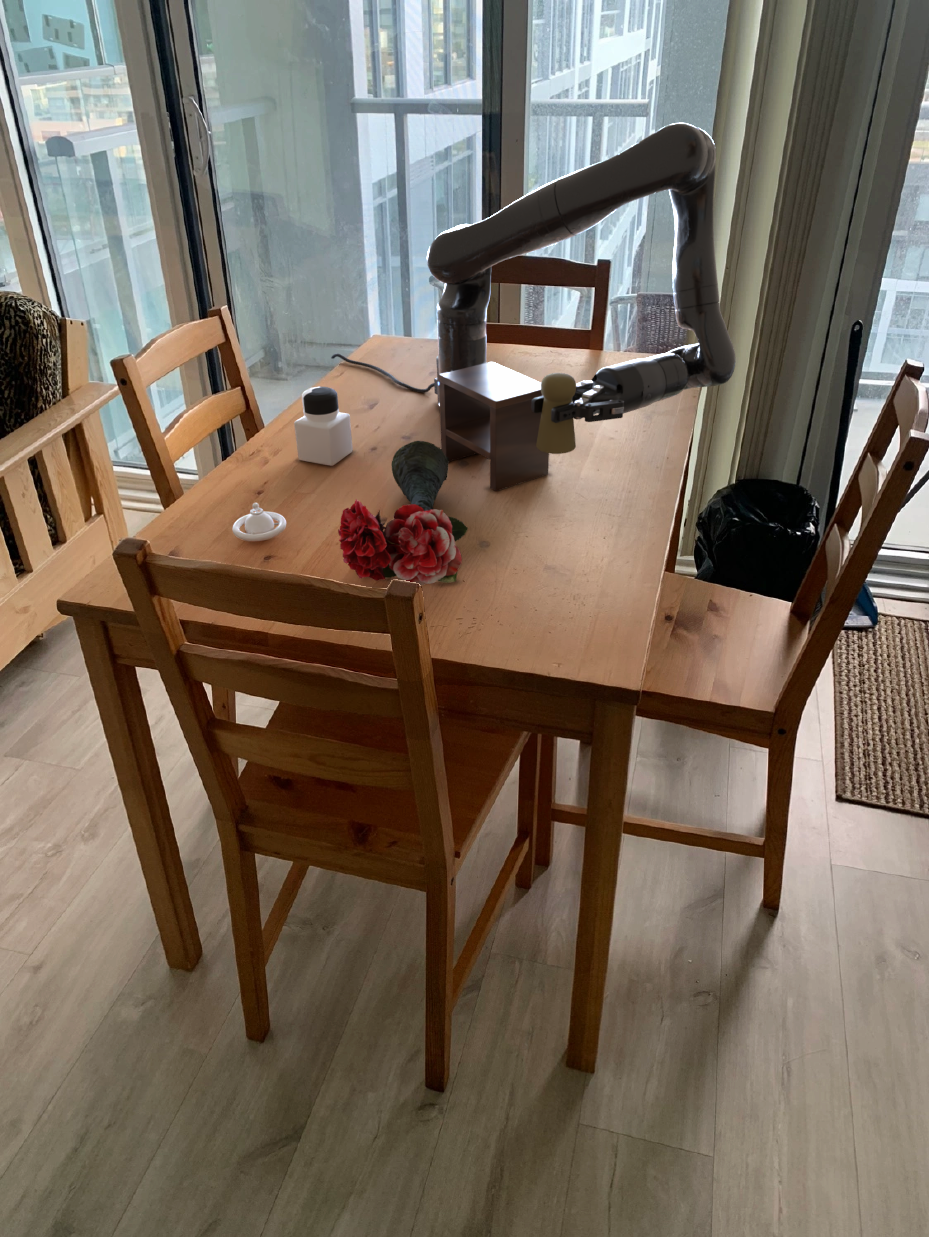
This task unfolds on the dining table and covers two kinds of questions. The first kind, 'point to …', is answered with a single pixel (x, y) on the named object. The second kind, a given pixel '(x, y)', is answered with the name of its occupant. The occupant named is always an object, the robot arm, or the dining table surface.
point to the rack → (492, 421)
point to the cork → (550, 434)
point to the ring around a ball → (259, 525)
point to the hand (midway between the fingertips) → (543, 411)
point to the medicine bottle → (322, 428)
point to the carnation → (406, 525)
